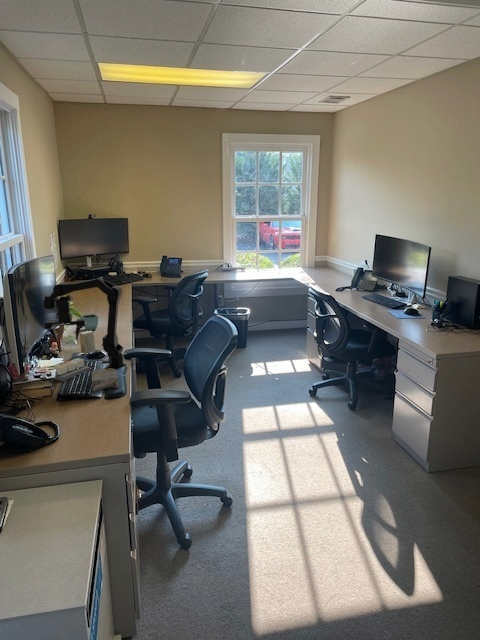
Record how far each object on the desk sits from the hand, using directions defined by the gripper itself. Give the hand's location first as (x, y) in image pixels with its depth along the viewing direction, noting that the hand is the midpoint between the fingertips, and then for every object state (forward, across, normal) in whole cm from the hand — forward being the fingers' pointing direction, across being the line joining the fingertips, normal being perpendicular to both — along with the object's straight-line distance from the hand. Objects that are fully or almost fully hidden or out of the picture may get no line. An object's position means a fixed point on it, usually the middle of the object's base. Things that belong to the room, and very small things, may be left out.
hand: (67, 340), depth 224 cm
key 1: (+11, -5, +8) cm, 14 cm away
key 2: (+11, -2, +12) cm, 16 cm away
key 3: (+11, +2, +16) cm, 19 cm away
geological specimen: (+14, -18, +29) cm, 37 cm away
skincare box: (+13, -7, -20) cm, 25 cm away
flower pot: (+13, -3, -75) cm, 77 cm away
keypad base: (+13, -2, +12) cm, 18 cm away
